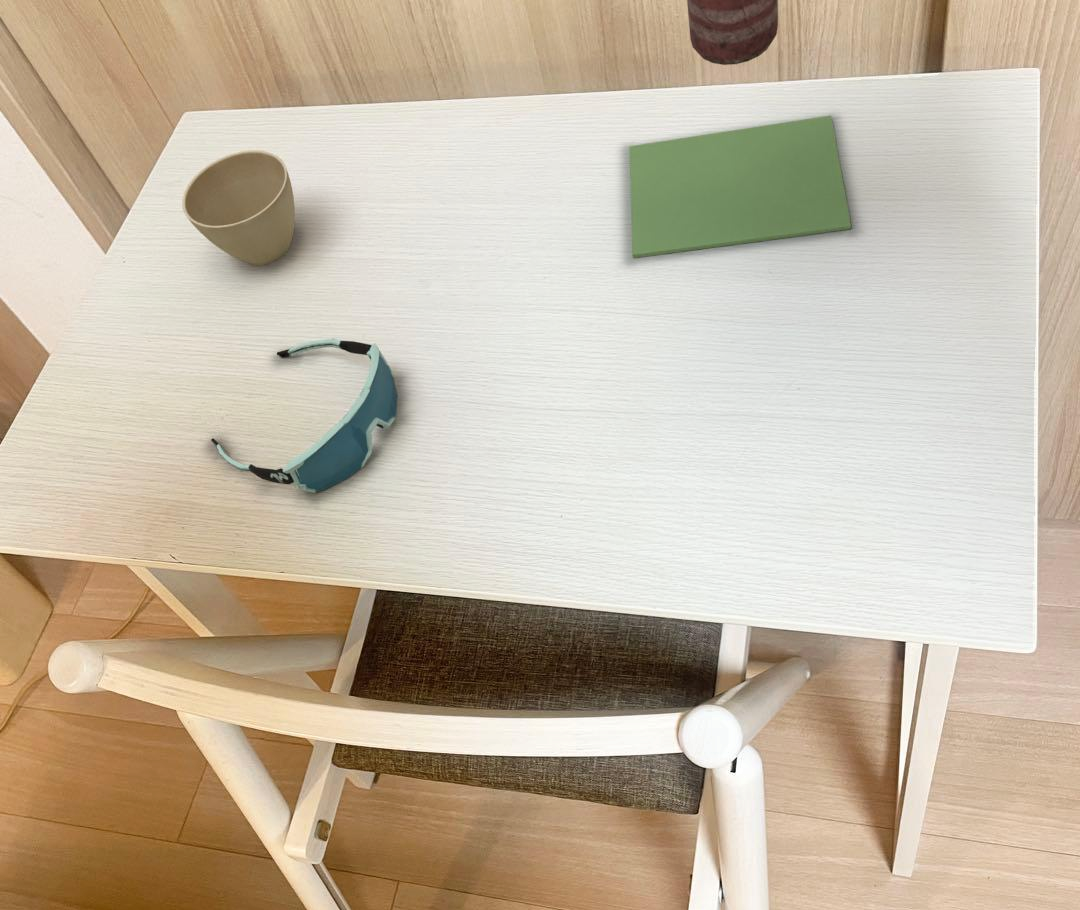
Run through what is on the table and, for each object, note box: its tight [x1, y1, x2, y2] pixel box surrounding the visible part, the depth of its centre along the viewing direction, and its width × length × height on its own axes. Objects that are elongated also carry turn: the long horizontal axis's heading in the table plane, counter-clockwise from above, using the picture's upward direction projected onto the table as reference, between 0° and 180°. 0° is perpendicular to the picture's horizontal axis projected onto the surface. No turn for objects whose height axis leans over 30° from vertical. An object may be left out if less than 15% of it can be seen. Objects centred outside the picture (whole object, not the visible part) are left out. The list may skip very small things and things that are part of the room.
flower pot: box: [181, 149, 296, 266], centre depth 96 cm, size 10×10×7 cm
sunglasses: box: [210, 338, 398, 494], centre depth 84 cm, size 14×15×5 cm
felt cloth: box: [629, 115, 852, 259], centre depth 90 cm, size 18×14×1 cm
